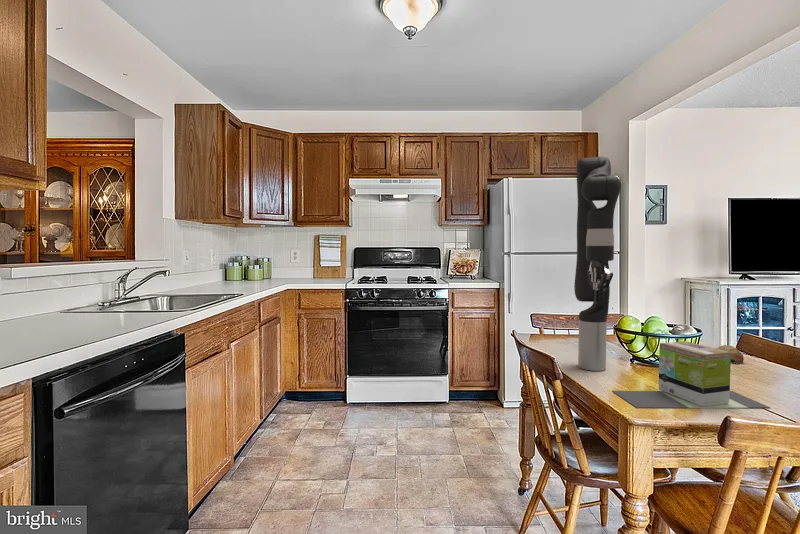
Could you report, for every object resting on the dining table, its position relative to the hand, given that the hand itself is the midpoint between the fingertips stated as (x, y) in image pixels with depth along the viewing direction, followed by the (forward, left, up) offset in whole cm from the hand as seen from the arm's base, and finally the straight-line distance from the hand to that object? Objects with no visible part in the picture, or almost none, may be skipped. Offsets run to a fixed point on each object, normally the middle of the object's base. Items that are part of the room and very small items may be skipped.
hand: (598, 302), depth 134 cm
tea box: (+5, +25, -27) cm, 37 cm away
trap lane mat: (+6, +23, -27) cm, 36 cm away
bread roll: (-39, +66, -27) cm, 81 cm away
